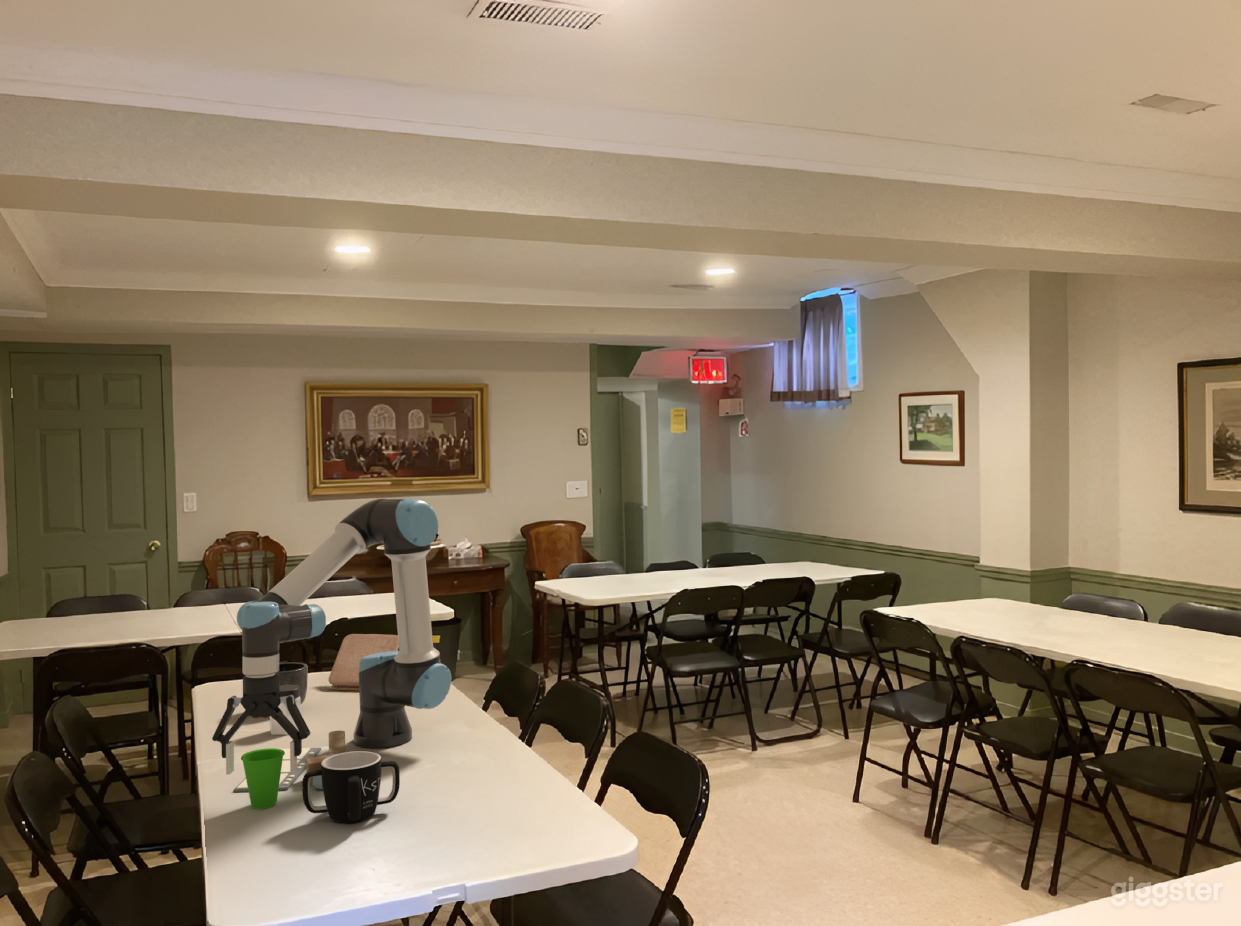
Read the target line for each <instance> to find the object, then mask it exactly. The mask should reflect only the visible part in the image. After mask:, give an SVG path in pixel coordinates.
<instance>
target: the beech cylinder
mask: <svg viewBox="0 0 1241 926" xmlns="http://www.w3.org/2000/svg"><path fill="white" fill-rule="evenodd" d="M345 752H346V731H345V730H332V731H329V732H328V755H329V754H335V755H336V754H340V753H345Z"/></svg>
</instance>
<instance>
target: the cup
mask: <svg viewBox="0 0 1241 926" xmlns="http://www.w3.org/2000/svg"><path fill="white" fill-rule="evenodd" d="M281 749H282V748H275V747H274V748H260V749H255V750H251V751H247V752H245V753H243V754H242V755H241V757H240V759H241V761H242V764H243V769H244V775H245V778H246V780H247V786H248V791H249V792H248V796H249V800H250V804H251V805H250V806H251V807H252V808H253V809H256V810H264V809H270V808H273V807H274V806H276V804H277V802H278V796H279V790H278V789H279V782H280V775H281V767H282V760H283V755H285V752H284V751H283V750H281Z"/></svg>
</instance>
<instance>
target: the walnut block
mask: <svg viewBox="0 0 1241 926" xmlns="http://www.w3.org/2000/svg"><path fill="white" fill-rule="evenodd" d="M328 757H329V754H328V755H327V754H326V755H320V756H319V755H317V756H316V757H310V758H306V766H307V768H306V773H307V772H310V771H315V770H320V769H321V763H322V761H323V760H324V759H326V758H328ZM313 778H314V777H311V778H310V786H314V785H313Z"/></svg>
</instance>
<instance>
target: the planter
mask: <svg viewBox="0 0 1241 926" xmlns="http://www.w3.org/2000/svg"><path fill="white" fill-rule="evenodd" d="M308 666H309V665H307V664H306V663H304V662H279V671H278V672H276V673H278V674H279V685H298V686H300V705H302V704H303V703H304V701H305V700H306V697H307V693H308V677H309V676H308V675H309V673H308V671H309V669H308Z"/></svg>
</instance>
